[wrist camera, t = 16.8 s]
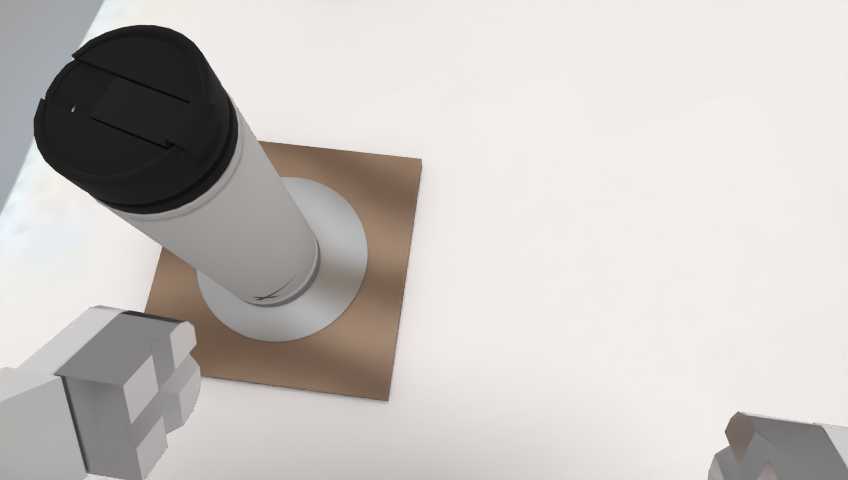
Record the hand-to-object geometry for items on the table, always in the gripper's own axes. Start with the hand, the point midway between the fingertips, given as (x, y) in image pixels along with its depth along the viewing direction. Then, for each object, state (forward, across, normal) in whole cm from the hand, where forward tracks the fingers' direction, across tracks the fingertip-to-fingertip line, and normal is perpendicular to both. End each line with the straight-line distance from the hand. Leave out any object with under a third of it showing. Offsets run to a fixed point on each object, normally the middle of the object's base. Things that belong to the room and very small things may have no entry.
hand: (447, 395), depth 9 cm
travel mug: (+25, +13, +14) cm, 31 cm away
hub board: (+26, +12, +14) cm, 32 cm away
